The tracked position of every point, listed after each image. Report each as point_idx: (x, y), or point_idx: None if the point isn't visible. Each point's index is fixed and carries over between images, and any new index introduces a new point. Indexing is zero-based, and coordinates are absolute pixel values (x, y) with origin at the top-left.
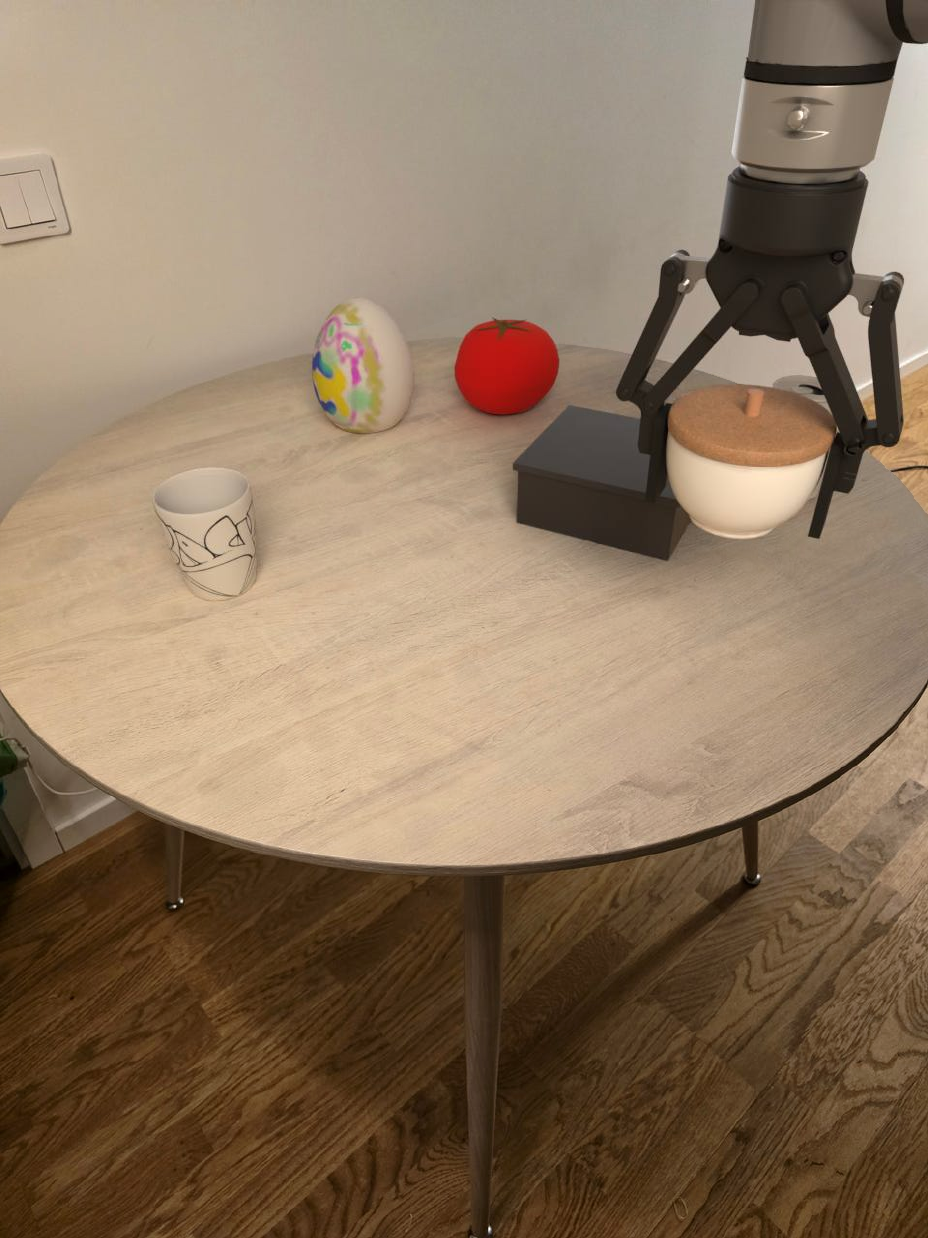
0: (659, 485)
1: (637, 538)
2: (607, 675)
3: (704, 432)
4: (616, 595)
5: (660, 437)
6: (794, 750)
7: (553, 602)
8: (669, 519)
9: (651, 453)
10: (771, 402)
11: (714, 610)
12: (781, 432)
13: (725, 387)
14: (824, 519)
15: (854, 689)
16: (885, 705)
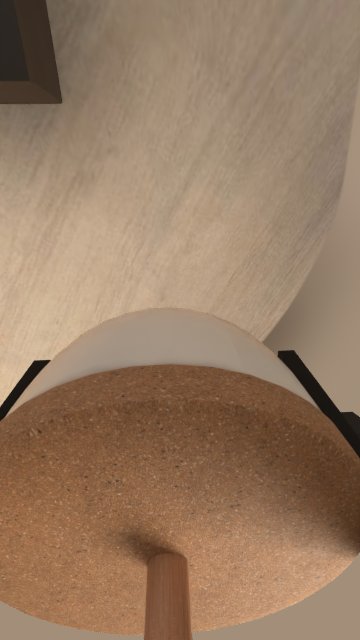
0: None
1: (6, 97)
2: (102, 319)
3: (105, 626)
4: (49, 209)
5: None
6: (246, 328)
7: (4, 252)
8: (30, 85)
9: None
10: (200, 511)
11: (148, 186)
12: (250, 596)
13: (25, 475)
14: None
15: (285, 245)
16: (309, 253)
